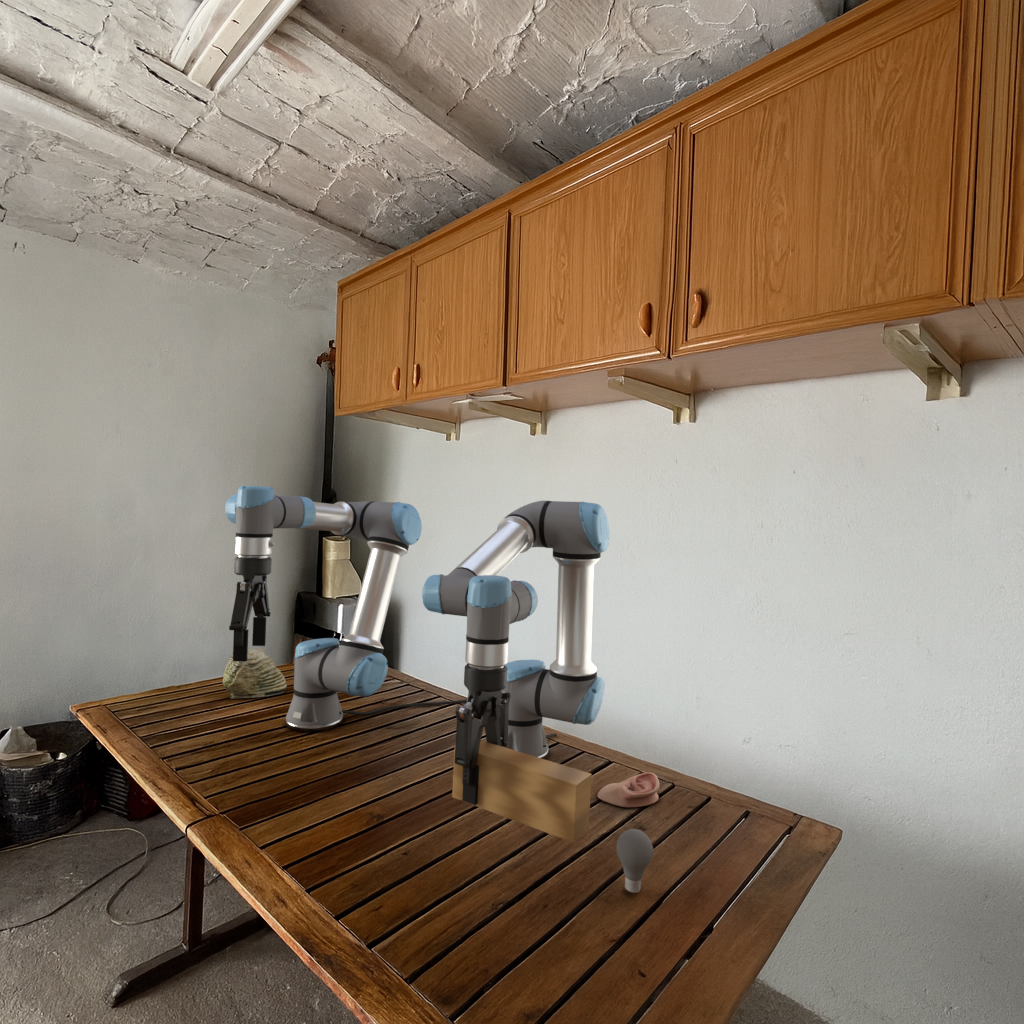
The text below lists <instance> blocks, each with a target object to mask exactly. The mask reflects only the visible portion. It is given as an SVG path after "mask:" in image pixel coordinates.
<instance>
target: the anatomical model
mask: <svg viewBox="0 0 1024 1024" xmlns="http://www.w3.org/2000/svg"><path fill="white" fill-rule="evenodd" d="M659 789H660V781H659V777H658V776H657V774H655V773H654V772H651V771H647V772H642V773H639V774H636V775H633V776H631V777H629V778H627V779H625V780H622V781H621V782H612V783H609V784H606V785H604V786H602V788H600V790H599V791H598V793H597V794H596V795H597V798H598V799H599V800H601V801H603V802H606V803H608V804H611V805H614V806H618V807H621V808H622V807H623V808H638V807H646V806H649V805H653V804H655V803H656V802H658V800H659V795H658V791H659Z"/></svg>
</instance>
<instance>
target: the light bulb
mask: <svg viewBox="0 0 1024 1024" xmlns="http://www.w3.org/2000/svg"><path fill="white" fill-rule="evenodd" d="M615 849H616V854H617V857H618V859H619V861H620V863H621V865H622V867H623V873H624V874H623V875H624V876H625V878H624V888H625V890H627V891H628V892H630V893H634V894H635V893H639V892H640V891H641V889H642V887H641V886H642V879H643V877H644V875H645V871H646V868H647V867H648V866H649V864H650V863H651V861H652V859H653V855H654V847H653V843H652V841H651V838H649V836H648V835H647V834H646V833H645V832H643V831H642V830H641V829H636V828H629V829H627V830H625V831H623V832H622V833H621V834H620V835H619V837H618V839H617V841H616V847H615Z"/></svg>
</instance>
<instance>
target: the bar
mask: <svg viewBox="0 0 1024 1024" xmlns="http://www.w3.org/2000/svg"><path fill="white" fill-rule="evenodd" d="M453 747H454V751H453V771H452V791H451V793H452V794H451V797H452V799H456V800H458V801H461V802H464V803H466V804H469V805H471V806H474V807H477V808H479V809H482V810H485V811H487V812H489V813H493V814H495V815H498V816H501V817H503V818H506V819H509V820H512V821H514V822H516V823H520V824H522V825H524V826H527V827H530V828H533V829H536V830H538V831H540V832H544V833H546V834H548V835H551V836H554V837H557V838H559V839H562V840H564V841H567V842H569V843H572V844H574V843H576V842H577V841H578V840H579V839H580V838H581V837H582V836H584V835H585V834H586V833H587V832H588V831H589V830H590V814H591V796H592V795H591V792H592V773H590V772H587V771H584V770H581V769H578V768H575V767H571V766H567V765H565V764H561V763H558V762H554V761H550V760H548V759H546V758H545V759H541V758H538V757H535V756H531V755H528V754H525V753H522V752H518V751H515V750H512V749H508V748H505V747H502V746H499V745H495V744H492V743H489V742H487V741H486V740H482V739H481V742H480V747H479V752H478V757H477V762H476V765H478V766H479V780H478V802H477V804H476V805H473V804H470V803H468V802H465V801H462V797H463V783H462V777H463V766H461V765H458V764H455V762H454V760H455V746H453ZM470 759H471V758H470Z"/></svg>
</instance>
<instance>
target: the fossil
mask: <svg viewBox="0 0 1024 1024" xmlns="http://www.w3.org/2000/svg"><path fill="white" fill-rule="evenodd" d="M222 676H223V677H222V685H223V687H224V688H225V690H226V691H228V693H229V698H230V699H250V698H264V697H271V696H275V695H281V694H284V693H285V691H286V689H287V687H288V686H287V680H286V678H285V676H284V674H283V673H282V672H281V669H279V668H278V667H277V665H276V663H275V662H274V660H273V659H272V658H271V657H270V656H269V655H268V654H267V653H266V652H265V650H264V649H263V648H260V647H258V648H251V647H248V656H247V661H233V652H232V653H231V656H230V657H229V659H228V660H227V663H226V666H225V668H224V671H223V675H222Z"/></svg>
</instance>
